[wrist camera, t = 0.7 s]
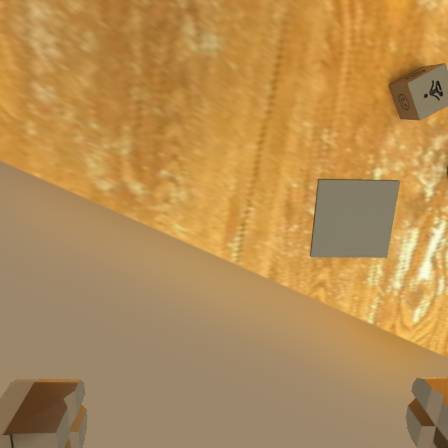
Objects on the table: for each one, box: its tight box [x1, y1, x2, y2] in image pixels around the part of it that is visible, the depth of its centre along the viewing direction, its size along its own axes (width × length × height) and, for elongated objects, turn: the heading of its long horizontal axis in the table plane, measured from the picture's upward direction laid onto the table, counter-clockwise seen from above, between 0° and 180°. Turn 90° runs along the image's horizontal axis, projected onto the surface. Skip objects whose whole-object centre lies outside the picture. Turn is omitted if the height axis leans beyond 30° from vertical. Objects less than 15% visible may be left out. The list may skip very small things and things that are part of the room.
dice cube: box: [389, 63, 448, 120], centre depth 50 cm, size 5×5×5 cm
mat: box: [310, 179, 400, 257], centre depth 57 cm, size 12×12×1 cm
